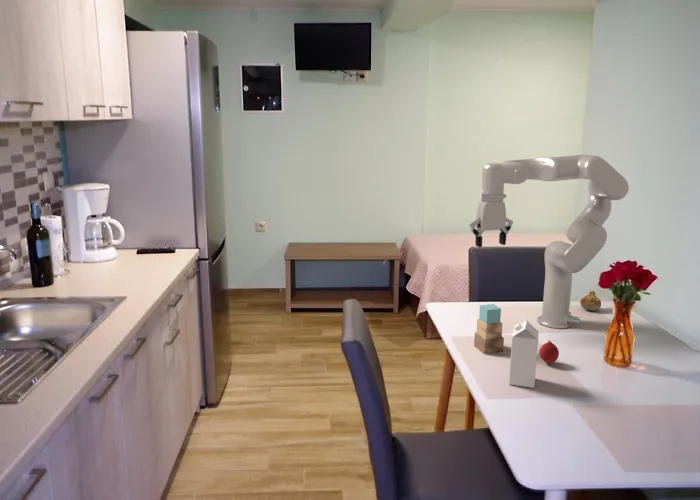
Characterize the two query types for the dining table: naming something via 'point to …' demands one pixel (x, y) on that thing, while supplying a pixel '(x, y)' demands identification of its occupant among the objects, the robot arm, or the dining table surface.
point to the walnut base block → (488, 344)
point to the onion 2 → (590, 302)
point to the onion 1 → (549, 352)
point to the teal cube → (490, 314)
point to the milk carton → (523, 355)
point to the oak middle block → (489, 330)
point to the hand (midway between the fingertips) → (490, 245)
